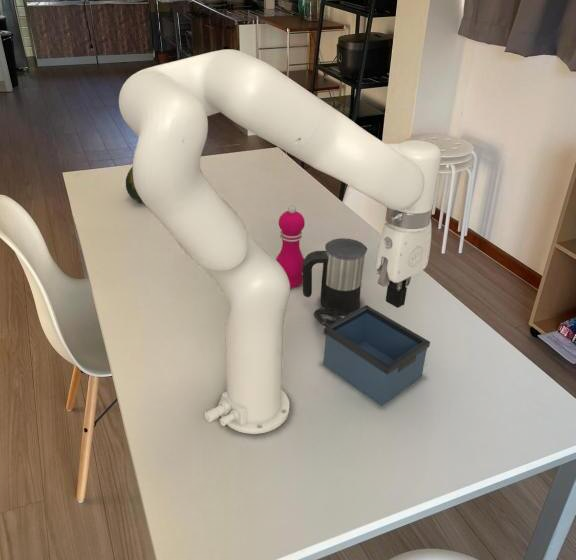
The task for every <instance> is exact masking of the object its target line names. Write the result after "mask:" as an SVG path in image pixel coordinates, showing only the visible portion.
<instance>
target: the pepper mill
mask: <svg viewBox="0 0 576 560" xmlns="http://www.w3.org/2000/svg"><path fill="white" fill-rule="evenodd" d="M305 221H306V220H305V217H304V216H303V214H302V213H301V212H298V211H297V208H296V206H294V205H290V206H289V207H288V209H287V211H284V212H283V213H282V214H281V215H280V216H279V218H278V227H279V229H280V239H281V241H282V242H281V243H282V244H281V245H282V246H281V249H280V251H279V253H278V255H277V256H276V258H275V259H276V260H277V262H278V263H279V264H280V265H281V266H282V268H283V269H284V271H285V272H286V274H287V276H288V279H289V283H290V289H291V288H292V289H293V288H297V287H299V286H301V285H302V284H303V268H302V266H303V260H304V258H305V257H304V255H303V254H302V251H301V248H300V241H301V240H302V238H303V230H304V228H305V226H306V225H305V224H306V223H305Z"/></svg>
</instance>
